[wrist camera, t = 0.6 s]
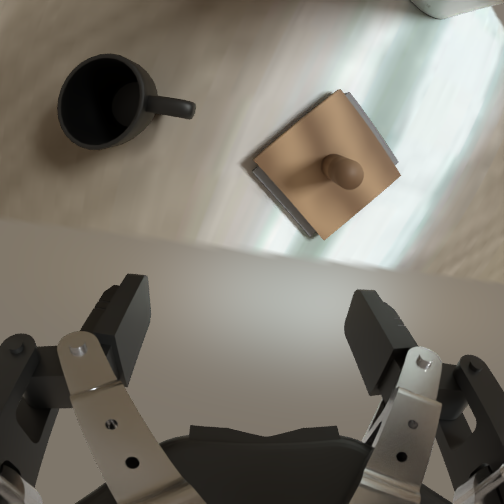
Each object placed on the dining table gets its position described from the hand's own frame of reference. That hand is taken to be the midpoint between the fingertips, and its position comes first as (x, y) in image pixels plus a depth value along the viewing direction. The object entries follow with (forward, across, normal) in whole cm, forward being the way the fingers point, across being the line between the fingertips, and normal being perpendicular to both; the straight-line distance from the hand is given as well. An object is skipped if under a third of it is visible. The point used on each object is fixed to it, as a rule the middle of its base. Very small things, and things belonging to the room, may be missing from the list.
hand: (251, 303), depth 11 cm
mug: (+24, +11, -7) cm, 27 cm away
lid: (+23, -9, -3) cm, 25 cm away
